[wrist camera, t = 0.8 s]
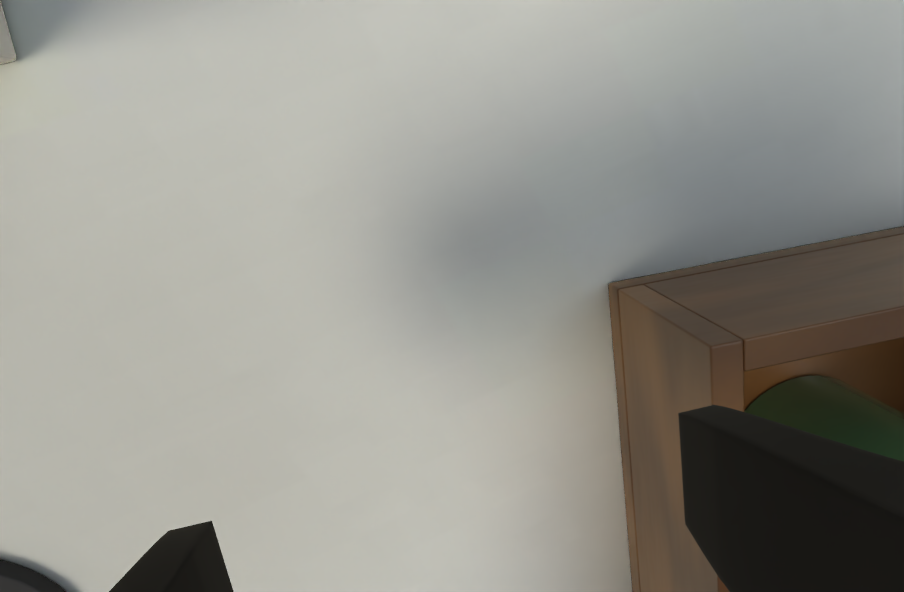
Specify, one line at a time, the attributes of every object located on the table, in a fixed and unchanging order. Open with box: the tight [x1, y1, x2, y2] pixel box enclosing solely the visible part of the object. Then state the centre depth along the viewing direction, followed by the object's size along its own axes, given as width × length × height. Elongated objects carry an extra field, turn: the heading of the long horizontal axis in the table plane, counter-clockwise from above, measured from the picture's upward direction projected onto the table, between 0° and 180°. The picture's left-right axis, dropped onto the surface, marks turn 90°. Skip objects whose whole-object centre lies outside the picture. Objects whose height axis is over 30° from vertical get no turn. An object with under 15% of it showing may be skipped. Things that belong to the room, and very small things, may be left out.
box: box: [608, 226, 904, 592], centre depth 20 cm, size 14×12×6 cm
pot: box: [744, 375, 904, 461], centre depth 18 cm, size 6×6×8 cm
